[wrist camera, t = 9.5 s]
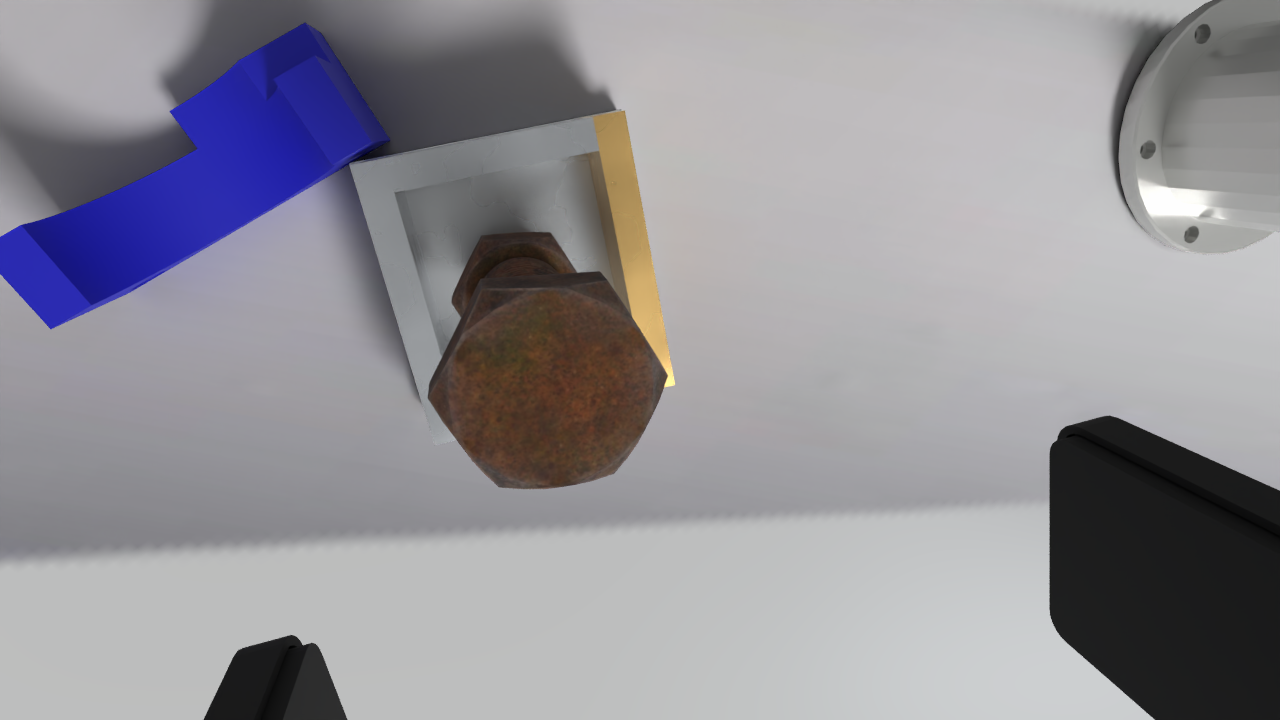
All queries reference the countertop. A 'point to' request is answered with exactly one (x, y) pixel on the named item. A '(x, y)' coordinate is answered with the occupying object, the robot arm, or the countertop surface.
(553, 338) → the bolt
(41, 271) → the cable clip
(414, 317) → the shallow open tray
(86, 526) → the countertop surface
